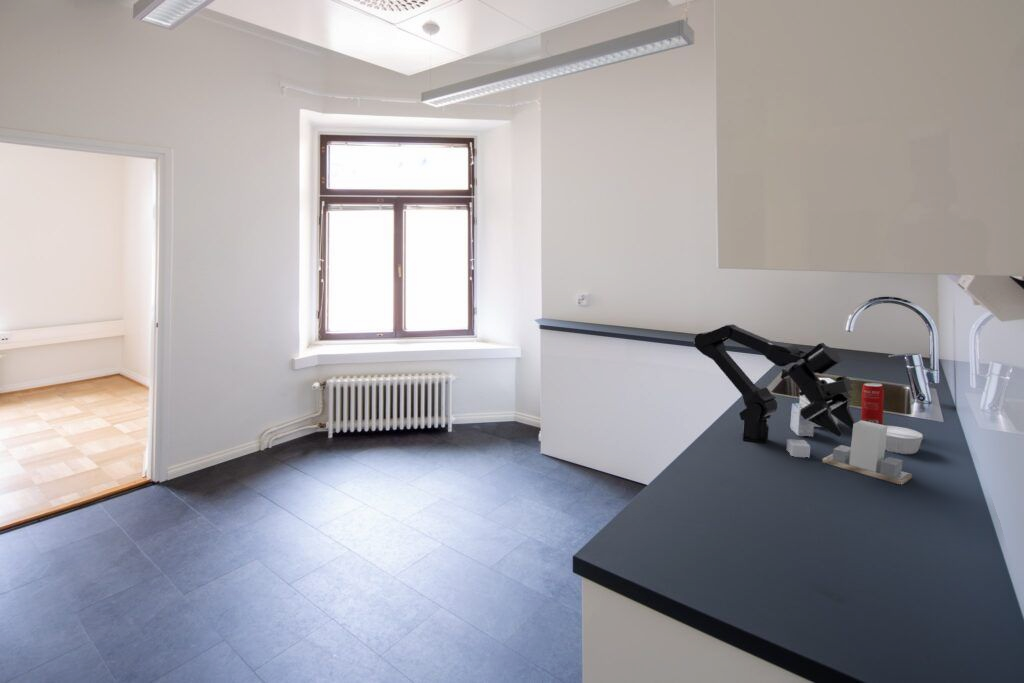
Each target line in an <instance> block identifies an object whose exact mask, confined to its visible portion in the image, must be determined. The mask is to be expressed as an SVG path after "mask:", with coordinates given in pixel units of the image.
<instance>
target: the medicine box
mask: <svg viewBox="0 0 1024 683" xmlns="http://www.w3.org/2000/svg"><path fill="white" fill-rule="evenodd" d="M805 406H807V404H801V403H800V402H797V403H792V404H791V413H790V427H789V428H791V429H790V430H791V431H792V432H793V433H794V434H795V435H797V437H803V436H809V437H808V438H813V437H814V429H815V427H814V423H813V422H811V421H808V420H809V419H811V418H812V416H811V417H810V418H809V419H806V420H804V418H803V417H802V416H801V414H800V411H801V409H802V408H804V407H805ZM810 436H811V437H810Z"/></svg>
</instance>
